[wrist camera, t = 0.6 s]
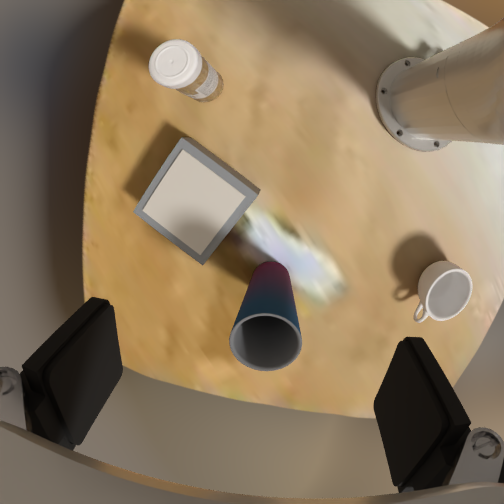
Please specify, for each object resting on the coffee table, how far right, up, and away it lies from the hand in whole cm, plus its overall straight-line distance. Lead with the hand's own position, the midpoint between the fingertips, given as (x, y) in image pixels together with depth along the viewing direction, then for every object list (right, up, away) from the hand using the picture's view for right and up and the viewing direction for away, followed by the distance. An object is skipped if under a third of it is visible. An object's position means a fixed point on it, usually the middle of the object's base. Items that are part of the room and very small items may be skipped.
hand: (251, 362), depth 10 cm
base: (-7, +10, +31) cm, 33 cm away
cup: (+3, 0, +34) cm, 34 cm away
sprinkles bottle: (-6, +24, +26) cm, 36 cm away
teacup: (+26, -1, +32) cm, 41 cm away
